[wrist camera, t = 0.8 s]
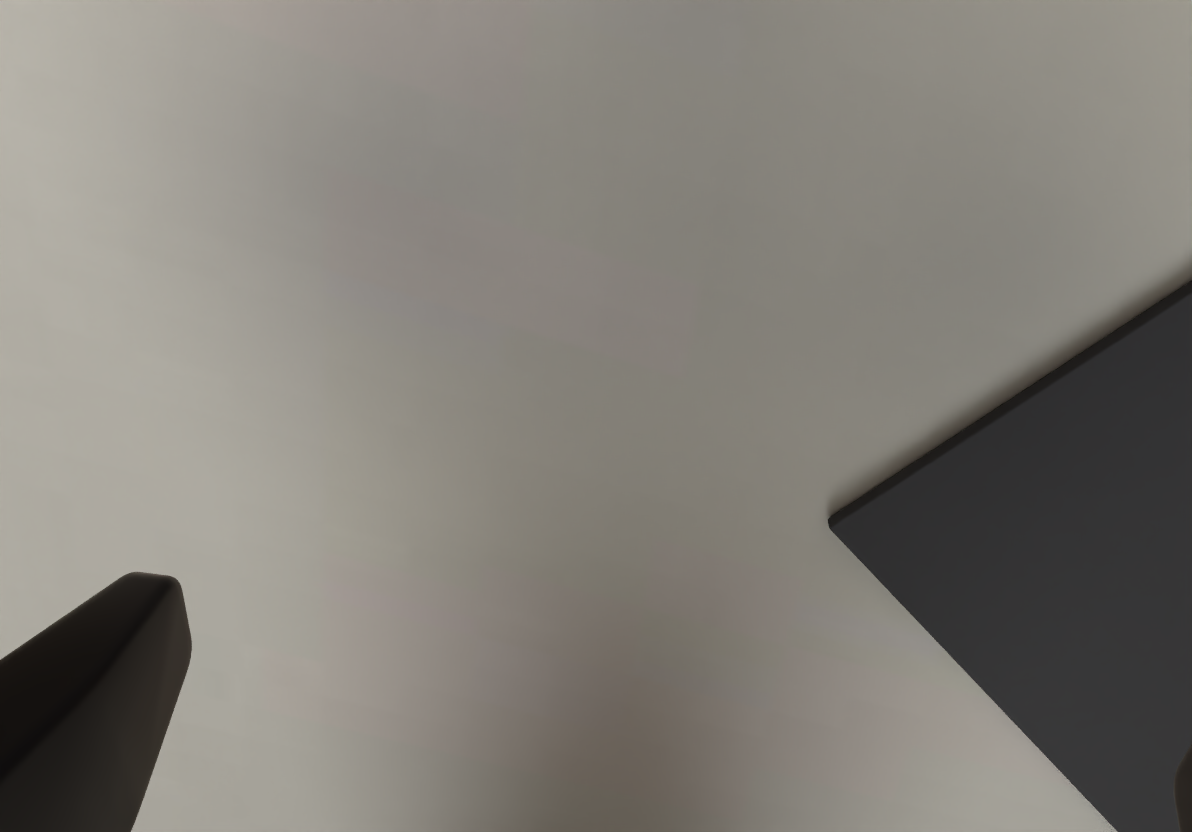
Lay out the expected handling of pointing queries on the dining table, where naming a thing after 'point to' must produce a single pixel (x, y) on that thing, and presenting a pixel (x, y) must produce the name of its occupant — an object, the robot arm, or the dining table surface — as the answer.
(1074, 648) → the placemat
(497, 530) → the dining table surface
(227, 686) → the dining table surface
